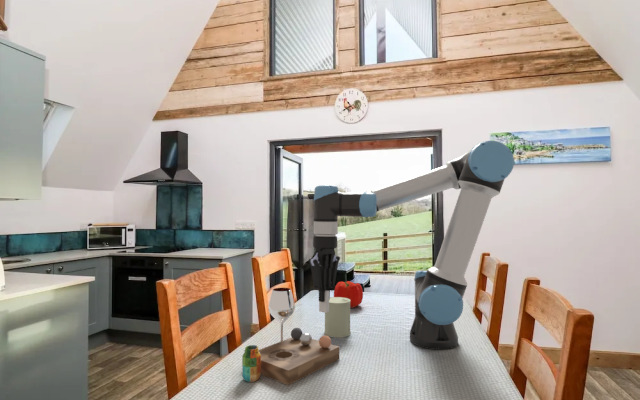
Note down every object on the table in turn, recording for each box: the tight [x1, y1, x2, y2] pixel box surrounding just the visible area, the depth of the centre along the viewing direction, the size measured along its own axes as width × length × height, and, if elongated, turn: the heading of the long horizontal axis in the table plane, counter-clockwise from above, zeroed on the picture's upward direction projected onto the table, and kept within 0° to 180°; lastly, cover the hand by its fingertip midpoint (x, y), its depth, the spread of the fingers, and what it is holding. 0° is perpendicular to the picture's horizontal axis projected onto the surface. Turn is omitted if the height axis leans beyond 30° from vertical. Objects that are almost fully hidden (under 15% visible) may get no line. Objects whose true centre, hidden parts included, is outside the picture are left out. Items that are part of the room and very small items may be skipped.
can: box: [323, 296, 351, 339], centre depth 132 cm, size 9×9×12 cm
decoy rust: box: [318, 334, 332, 348], centre depth 107 cm, size 4×4×4 cm
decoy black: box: [290, 327, 303, 340], centre depth 114 cm, size 4×4×4 cm
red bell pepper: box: [333, 280, 364, 309], centre depth 169 cm, size 14×13×10 cm
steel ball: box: [300, 332, 313, 346], centre depth 109 cm, size 4×4×4 cm
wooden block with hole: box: [259, 337, 340, 386], centre depth 105 cm, size 16×21×4 cm
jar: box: [241, 344, 261, 383], centre depth 95 cm, size 5×5×8 cm
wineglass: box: [268, 287, 296, 342], centre depth 118 cm, size 8×8×18 cm
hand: (324, 311), depth 116 cm, fingers closed
